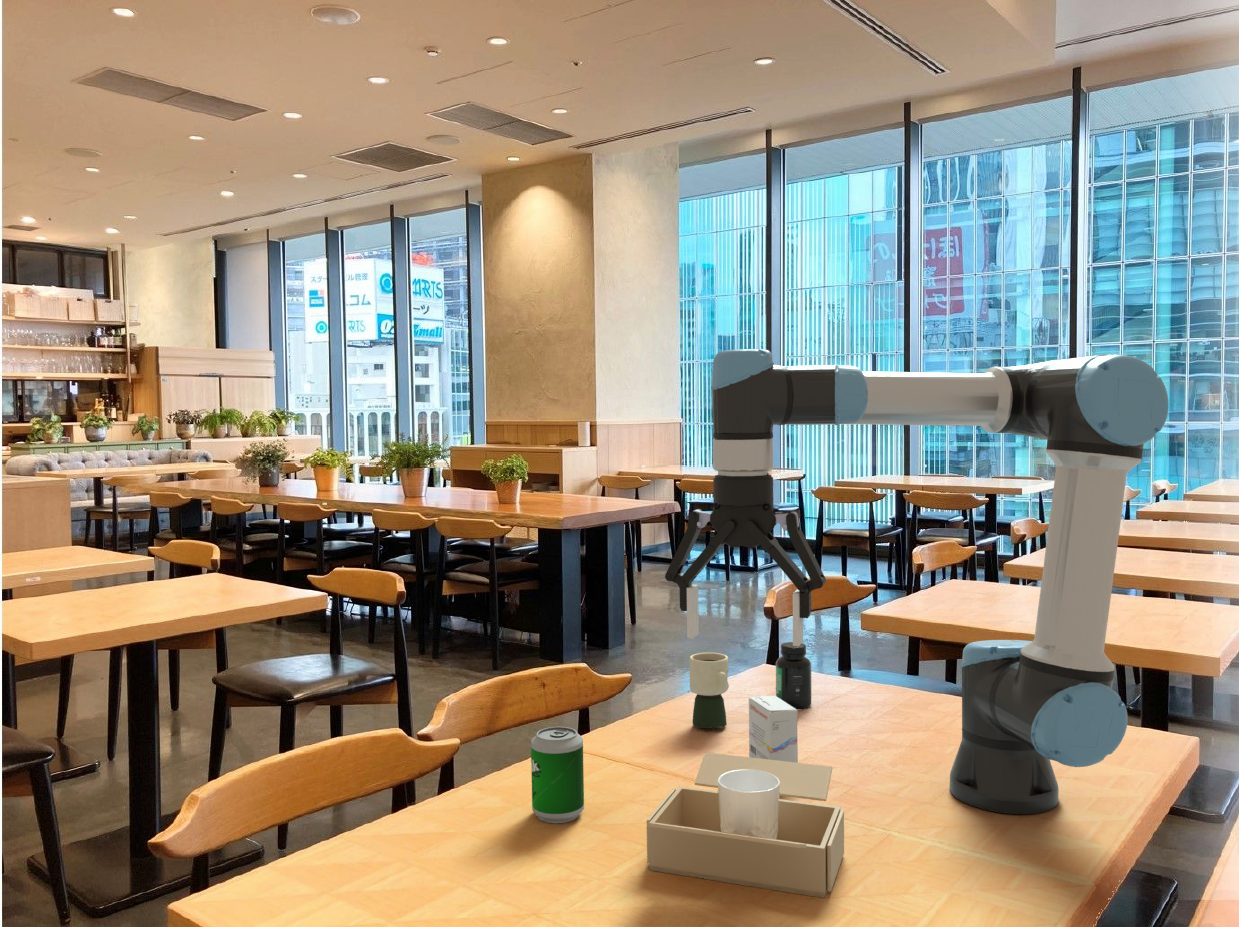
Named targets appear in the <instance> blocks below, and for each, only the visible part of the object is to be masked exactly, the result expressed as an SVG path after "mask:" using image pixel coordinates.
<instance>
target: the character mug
mask: <svg viewBox="0 0 1239 927" xmlns="http://www.w3.org/2000/svg"><path fill="white" fill-rule="evenodd" d="M729 671H730V670H729V656H728V655H726V654H723V653H719V652H698V653H694V654H692V655H690V656H689V691H690V692H691V693H693V694H695V697H694V703H693V712H692V726H694V727H696V728H701V729H712V728H715V729H716V728H724V727H726V726H727V725H728V724H727V723H728V722H727V714H726V707H725V700H724V698H723V695H722V694H725V693H726V692H727V691H728V690H729V688H730V684H729V681H728V674H729Z"/></svg>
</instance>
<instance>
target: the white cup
mask: <svg viewBox="0 0 1239 927" xmlns="http://www.w3.org/2000/svg"><path fill="white" fill-rule="evenodd" d="M717 790H718V794H719V813H720V826H721V832H726V833H733V834H740V835H747V836H754V837H762V838H769V839H777V836H778V834H777V833H778V820H779V799H780V796H779V793H780V780H779V779H778V778H777V777H776V776H774V775H773V774H770V773H767V772H764V771H759V770H747V769H745V770H734V771H729V772H726V773H724V774H722V775H721V776H719V778H718V788H717Z"/></svg>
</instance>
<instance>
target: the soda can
mask: <svg viewBox="0 0 1239 927" xmlns="http://www.w3.org/2000/svg"><path fill="white" fill-rule="evenodd" d="M530 761H531V762H530V763H531V765H530V766H531V772H530V773H531V809H532V812H533V813H534V814H535V815H536V816H537V817H538V819H539V820H540V821H542V822H544V823H548V824H563V823H564V824H565V823H568V822H573V821H574V820H576V819H577V818H578V817H579V815H580V814H581V813H582V812H583V811H584V809H585V788H584V786H585V783H584V776H585V775H584V774H585V773H584V738H583V736H582V735H580V734H579V733H578V731H577V730H576V729H575V728H572V727H567V726H551V727H545V728H542V729H539V730H538V731H537V732H536V735H535V736H533V737H532V738H531V741H530Z"/></svg>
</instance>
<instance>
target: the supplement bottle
mask: <svg viewBox="0 0 1239 927" xmlns="http://www.w3.org/2000/svg"><path fill="white" fill-rule="evenodd" d="M780 655H781V656H780V657H778V658H777V660H776V661H775V696H777V697H778V698H780V699H781V700H783V701H784V702H786V703H787V704H789V705H790V706H792V707H794V708H795V709H802V710H806V709H809V708H810V707H811V706H812V662H811V660H810V659H809V658H808V657H806V655H807V645H806V644H805V643H803V642H802V643H801V644H800V645H799V646H793V641H787V642H781V644H780ZM808 707H809V708H808ZM805 708H806V709H805Z"/></svg>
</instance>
